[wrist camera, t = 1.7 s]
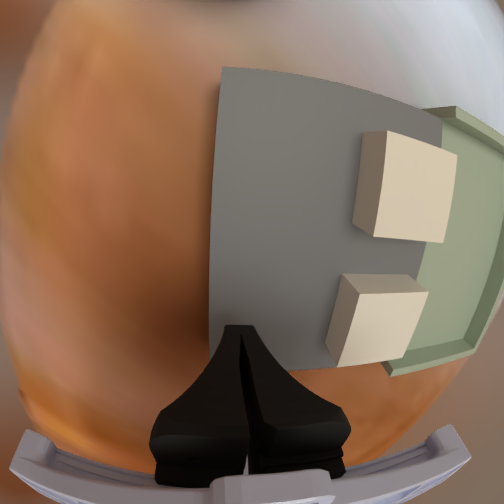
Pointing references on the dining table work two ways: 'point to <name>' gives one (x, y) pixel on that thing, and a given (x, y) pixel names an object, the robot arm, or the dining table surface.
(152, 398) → the dining table surface
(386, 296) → the tile inner
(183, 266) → the dining table surface
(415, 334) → the box
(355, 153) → the gray rectangular slab
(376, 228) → the tile outer
